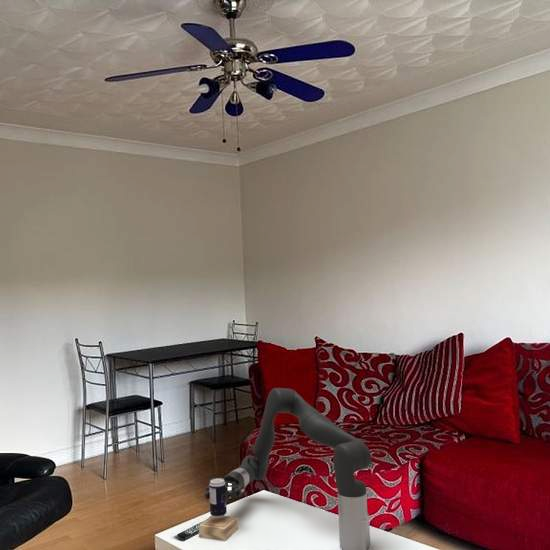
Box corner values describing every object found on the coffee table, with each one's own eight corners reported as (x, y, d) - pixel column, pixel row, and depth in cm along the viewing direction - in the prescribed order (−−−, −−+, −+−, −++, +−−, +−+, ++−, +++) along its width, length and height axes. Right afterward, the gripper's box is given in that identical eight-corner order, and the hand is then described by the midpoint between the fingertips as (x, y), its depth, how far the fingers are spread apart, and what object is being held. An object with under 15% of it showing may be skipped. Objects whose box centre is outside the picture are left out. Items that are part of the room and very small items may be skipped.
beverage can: (224, 518, 195) (222, 483, 195) (208, 518, 196) (206, 483, 196) (228, 512, 200) (227, 478, 201) (213, 511, 201) (212, 477, 202)
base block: (238, 529, 200) (237, 516, 201) (225, 540, 191) (224, 527, 191) (213, 525, 204) (212, 513, 204) (199, 537, 195) (198, 524, 195)
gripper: (218, 469, 214) (195, 484, 199) (253, 472, 209) (232, 488, 193) (219, 489, 214) (196, 506, 198) (253, 493, 209) (233, 511, 193)
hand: (214, 497), depth 196 cm, fingers closed on beverage can, 5 cm apart
